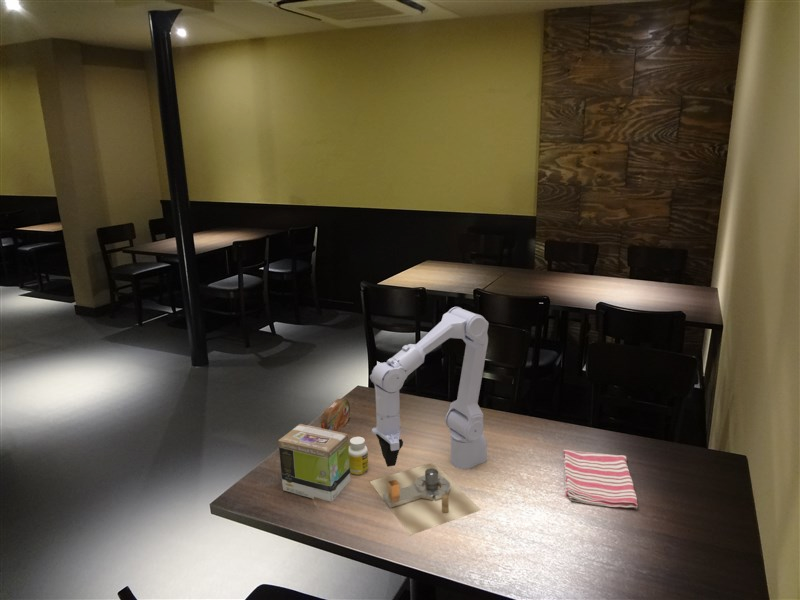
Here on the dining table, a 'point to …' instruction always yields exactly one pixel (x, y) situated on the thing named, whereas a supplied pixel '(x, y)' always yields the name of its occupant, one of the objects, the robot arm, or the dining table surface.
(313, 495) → the tea box
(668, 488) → the dining table surface
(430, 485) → the post
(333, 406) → the brown flat packet
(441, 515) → the board
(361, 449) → the supplement bottle
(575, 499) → the dish towel
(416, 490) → the crank
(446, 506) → the dowel
